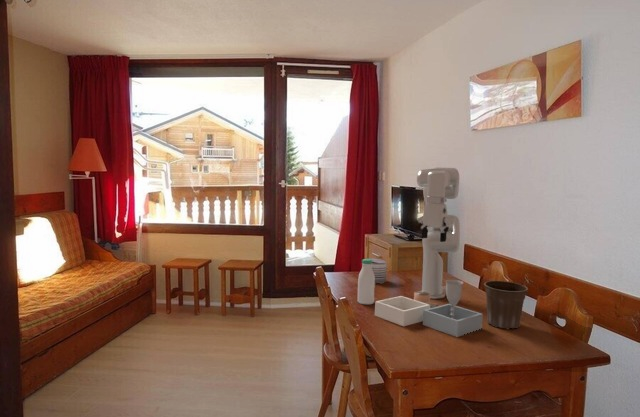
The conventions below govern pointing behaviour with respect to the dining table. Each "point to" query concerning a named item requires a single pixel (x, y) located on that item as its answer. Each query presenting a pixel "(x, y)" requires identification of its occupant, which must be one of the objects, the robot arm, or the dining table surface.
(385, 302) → the frame
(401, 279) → the dining table surface
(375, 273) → the can
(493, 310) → the plant pot
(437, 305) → the walnut block
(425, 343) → the dining table surface
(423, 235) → the robot arm
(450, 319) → the frame
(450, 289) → the chalice
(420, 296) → the terracotta pot
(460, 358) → the dining table surface
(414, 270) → the dining table surface
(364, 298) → the milk bottle
